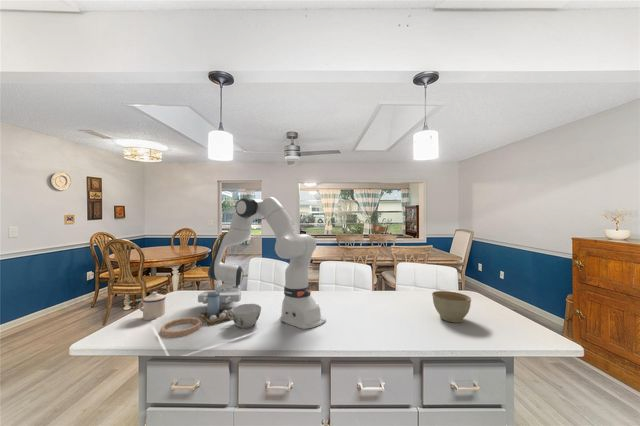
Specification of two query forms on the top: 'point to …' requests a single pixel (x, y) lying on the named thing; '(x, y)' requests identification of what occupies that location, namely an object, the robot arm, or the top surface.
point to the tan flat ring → (180, 332)
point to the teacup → (245, 315)
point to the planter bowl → (451, 305)
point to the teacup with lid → (153, 306)
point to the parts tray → (204, 317)
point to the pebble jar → (213, 304)
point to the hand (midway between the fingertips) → (214, 301)
